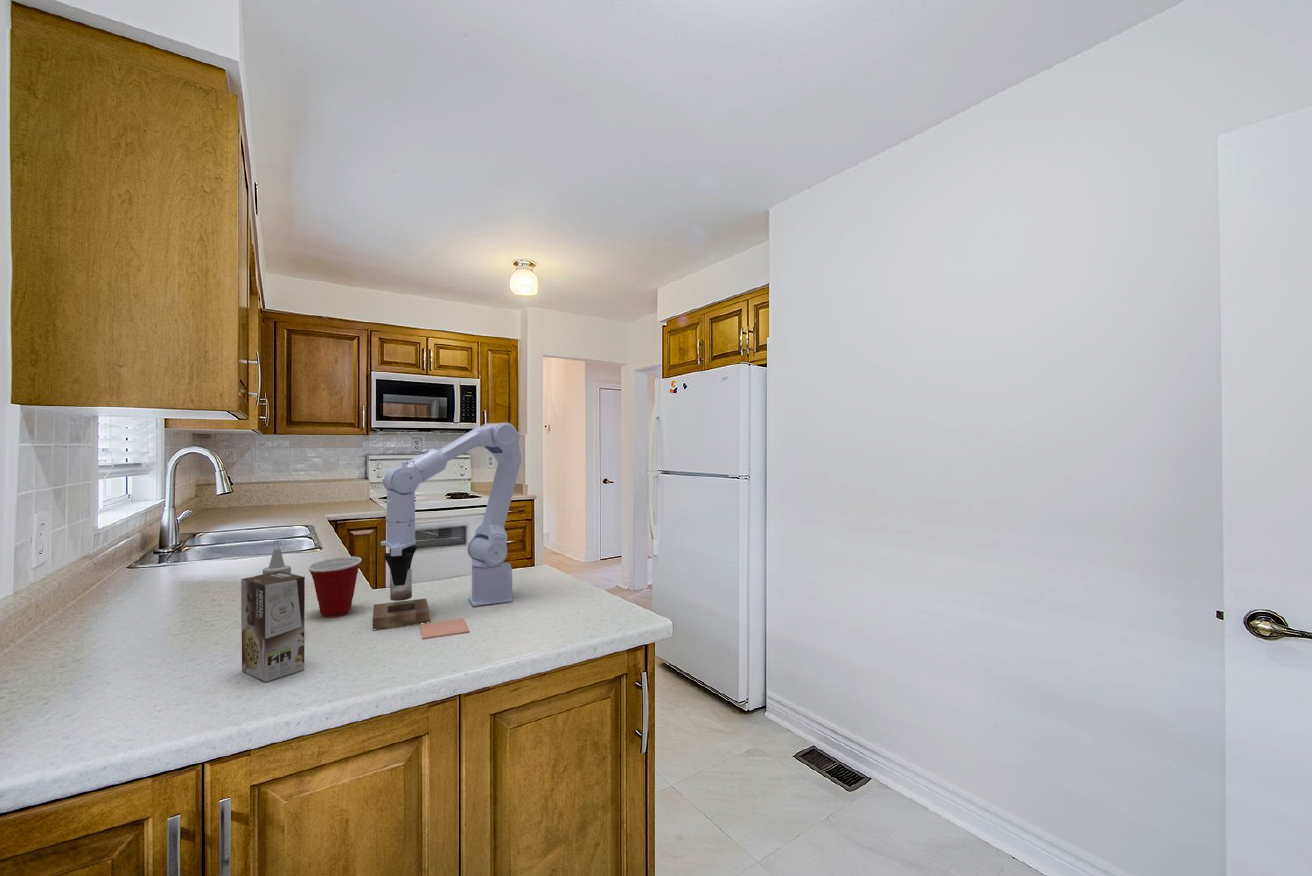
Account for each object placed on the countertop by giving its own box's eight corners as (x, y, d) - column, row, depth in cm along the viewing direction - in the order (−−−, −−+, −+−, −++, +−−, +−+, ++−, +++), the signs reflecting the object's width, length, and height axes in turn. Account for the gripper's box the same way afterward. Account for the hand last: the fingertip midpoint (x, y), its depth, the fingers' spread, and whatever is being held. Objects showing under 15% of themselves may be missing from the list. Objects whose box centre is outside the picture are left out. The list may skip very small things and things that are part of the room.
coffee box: (306, 669, 96) (306, 576, 96) (264, 683, 90) (264, 584, 90) (281, 658, 100) (281, 569, 100) (239, 671, 95) (239, 577, 95)
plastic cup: (295, 619, 123) (295, 565, 123) (336, 605, 133) (336, 555, 133) (333, 623, 119) (333, 568, 119) (372, 609, 130) (372, 558, 130)
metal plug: (413, 594, 125) (413, 567, 125) (410, 599, 121) (410, 571, 121) (392, 596, 124) (391, 568, 124) (388, 601, 120) (388, 573, 120)
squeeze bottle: (276, 649, 105) (276, 554, 105) (240, 646, 106) (241, 552, 107) (310, 634, 113) (310, 546, 113) (277, 631, 114) (277, 545, 114)
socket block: (426, 609, 130) (426, 598, 130) (429, 622, 120) (429, 611, 120) (373, 615, 125) (373, 604, 125) (372, 630, 115) (372, 618, 115)
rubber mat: (464, 619, 122) (464, 618, 122) (469, 632, 114) (469, 630, 114) (419, 625, 118) (419, 624, 118) (422, 639, 110) (422, 637, 110)
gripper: (386, 517, 128) (386, 575, 128) (374, 526, 114) (374, 592, 114) (419, 516, 130) (419, 573, 130) (411, 525, 116) (411, 589, 116)
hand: (401, 582), depth 122 cm, fingers closed on metal plug, 4 cm apart
